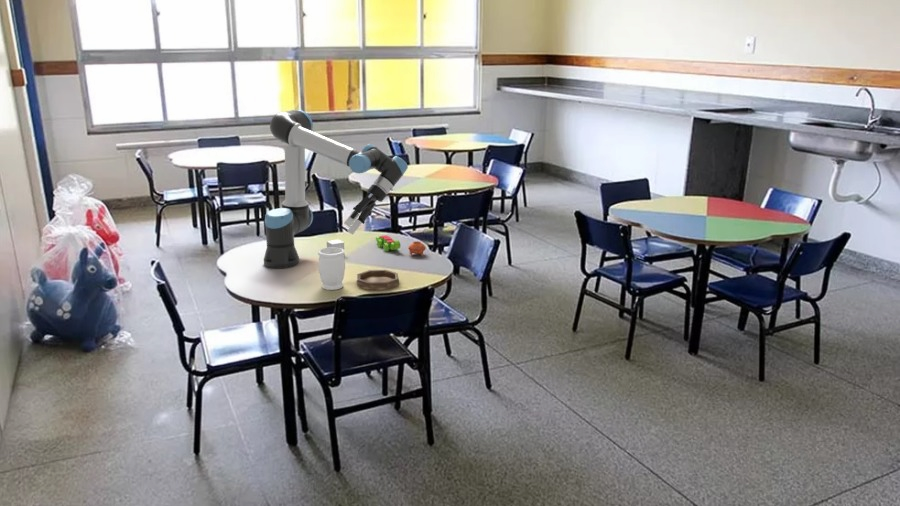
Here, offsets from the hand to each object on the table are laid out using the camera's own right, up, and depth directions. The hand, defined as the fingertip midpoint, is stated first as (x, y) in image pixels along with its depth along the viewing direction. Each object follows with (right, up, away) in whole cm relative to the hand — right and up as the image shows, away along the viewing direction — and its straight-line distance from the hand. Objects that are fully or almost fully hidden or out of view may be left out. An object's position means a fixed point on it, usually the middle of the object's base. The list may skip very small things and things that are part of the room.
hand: (348, 229), depth 282 cm
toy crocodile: (+12, -8, +44) cm, 46 cm away
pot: (+27, -11, +34) cm, 45 cm away
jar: (-5, -23, -8) cm, 25 cm away
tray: (+12, -22, -3) cm, 25 cm away
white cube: (-11, -11, +33) cm, 36 cm away
